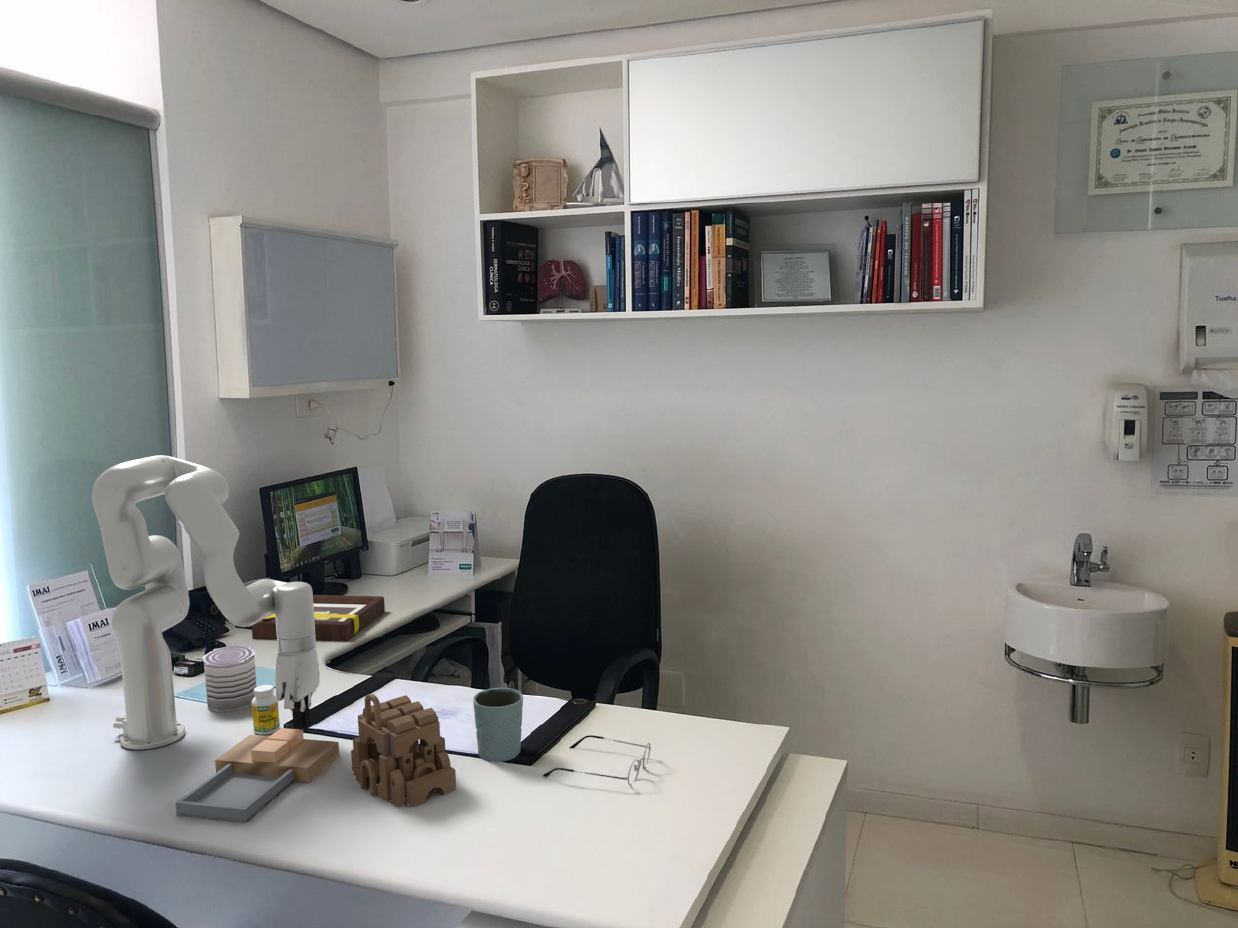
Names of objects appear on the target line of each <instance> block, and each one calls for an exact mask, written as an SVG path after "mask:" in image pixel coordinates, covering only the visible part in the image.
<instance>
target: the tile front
mask: <svg viewBox="0 0 1238 928" xmlns="http://www.w3.org/2000/svg"><path fill="white" fill-rule="evenodd" d="M288 752H289V746H288V741H278V740H266V739H265V740H264V741H263V742H261V743H260V744H259V745H257V746H256V747H255V748H253V749H252V750H251V756H252V761H259V762H271V763H275V762H277V761H278V760H279V759H280V758H282V757H283V756H284V755H286V754H287V753H288Z"/></svg>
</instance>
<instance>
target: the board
mask: <svg viewBox="0 0 1238 928" xmlns="http://www.w3.org/2000/svg"><path fill="white" fill-rule="evenodd" d="M269 736H270V735H260V734H257V735H256V734H249V735H247V736H246V737H245V738H243V740H241V741H239V742H238V743H236V744H235V745H234V746H232V747H231V748H229V749H227V751H225V752H224V753H222V754H221V755H219V756H218V757H217V758H215V759H214V765H215V766H214V767H215V773H216V772H218V771H219V770H221V769H222V768H223V767H225V766H226V765H227V764H232V766H233V774H244V775H255V776H266V777H277V778H280V777H281V776H282V775H283V774H284V773H286V772H287V771H288V770H289V769H294V780H295V782H294V783H297V782H298V783H306V784H309V783H310V782H311V781H313V780H314V779H315V778H316V777H317V776H319V774H321V773H322V772H323V771H324V770H325V769H326V768H327V767H328V766H329V765H331V764H332V763H333V762H334V761H335V760H336V759H338V758H339V757H340V744H339V741H334V740H321V739H311V738H310V739H307V738H304V740H303V741H302V742H301V743H299V744H298V745H297V746H296V747H294V748H293V749H292V750H291V751H290V750H289V752H288V753H287V754H286V755H284V756H283V757H282V758H280V759H279V760H278V761H277V762H275V763H271V762H259V761H252V756H251V750H252V749H253V748H255V747H256V746H257V745H259V744H260V743H261V742H263V741H264V740H265V739H266V740H267V738H268V737H269Z"/></svg>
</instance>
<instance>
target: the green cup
mask: <svg viewBox="0 0 1238 928" xmlns="http://www.w3.org/2000/svg"><path fill="white" fill-rule="evenodd" d="M472 699H473V709H474V710H473V712H474V724H475V729H476V731H475V733H476V741H477V753H478V756H479V758H480V759H481V760H484V761H487V762H491V763H492V762H493V763H496V762H498V763H499V762H507V761H510V760H513V759H515V758H517V757H518V756H519V755H520V754H519V753H521V745H522V743H521V742H522V725H523V706H524V704H523V703H524V696H523V693H522V692H521V691H520V690H518V689H515V688H509V687H493V688H488V689H484V690H482V691H479V692H477V693H476V694H474V696H473V698H472ZM518 754H519V755H518ZM517 755H518V756H517ZM516 756H517V757H516Z"/></svg>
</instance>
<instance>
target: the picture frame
mask: <svg viewBox="0 0 1238 928" xmlns="http://www.w3.org/2000/svg"><path fill="white" fill-rule="evenodd" d="M313 607H314V622H315V638H316V642H343V643H344V642H349V641H351V639H353V638H354V637H355V636H357V635H358V634H359V633H360V632H363V630H364V629H365V628H367V627H368V626H369V625H371V624H372V623H373V622H375V621H376V620H377V619H378V618H380V617H381V616H383V614H385V613H386V609H385V608H386V607H385V596H379V595H377V596H376V595H375V596H374V595H373V596H372V595H340V594H339V595H334V594H333V595H329V594H325V595H324V594H313ZM250 627H251V638H252V640H271V641H272V640H276V641H277V632H276V618H275V614H273V615H271V616H268V617H266V618H264V619H262V620H261V621H259V622H257V623H256V624H253V625H251V626H250Z"/></svg>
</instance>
